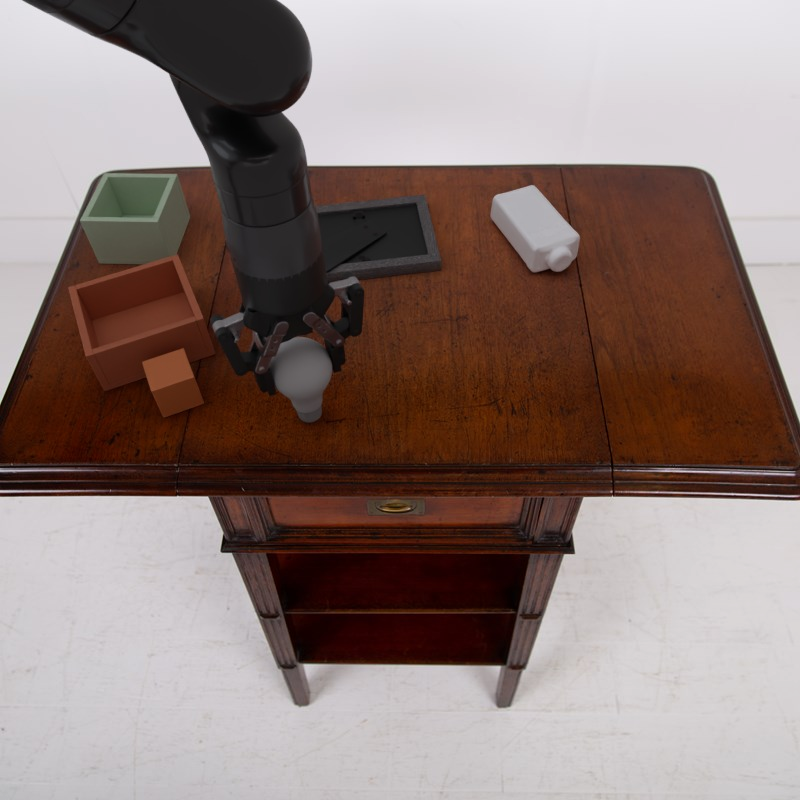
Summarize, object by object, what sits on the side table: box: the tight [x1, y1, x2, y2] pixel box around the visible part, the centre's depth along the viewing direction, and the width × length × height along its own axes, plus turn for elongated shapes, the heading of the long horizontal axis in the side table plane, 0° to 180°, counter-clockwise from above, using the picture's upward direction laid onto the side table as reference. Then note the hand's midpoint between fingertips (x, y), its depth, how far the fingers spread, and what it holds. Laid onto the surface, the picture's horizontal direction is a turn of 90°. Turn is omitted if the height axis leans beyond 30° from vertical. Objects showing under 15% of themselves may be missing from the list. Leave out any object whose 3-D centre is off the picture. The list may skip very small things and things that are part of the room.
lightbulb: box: [269, 336, 333, 424], centre depth 75 cm, size 6×6×11 cm
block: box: [142, 348, 205, 418], centre depth 80 cm, size 4×4×4 cm
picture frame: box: [315, 193, 442, 283], centre depth 96 cm, size 13×2×18 cm
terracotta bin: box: [67, 253, 216, 392], centre depth 85 cm, size 13×12×6 cm
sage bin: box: [79, 172, 191, 265], centre depth 96 cm, size 10×10×7 cm
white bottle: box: [490, 184, 581, 273], centre depth 94 cm, size 6×13×4 cm, turn 22°
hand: (302, 377), depth 75 cm, fingers closed on lightbulb, 6 cm apart
